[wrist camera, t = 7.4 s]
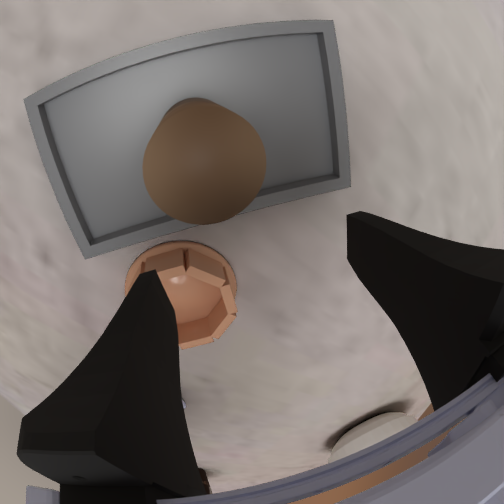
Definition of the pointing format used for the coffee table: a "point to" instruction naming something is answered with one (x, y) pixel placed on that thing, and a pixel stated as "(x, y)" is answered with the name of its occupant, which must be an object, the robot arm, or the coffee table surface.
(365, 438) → the bowl
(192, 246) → the terracotta cup
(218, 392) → the coffee table surface
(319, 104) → the charcoal tray
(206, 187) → the walnut peg
